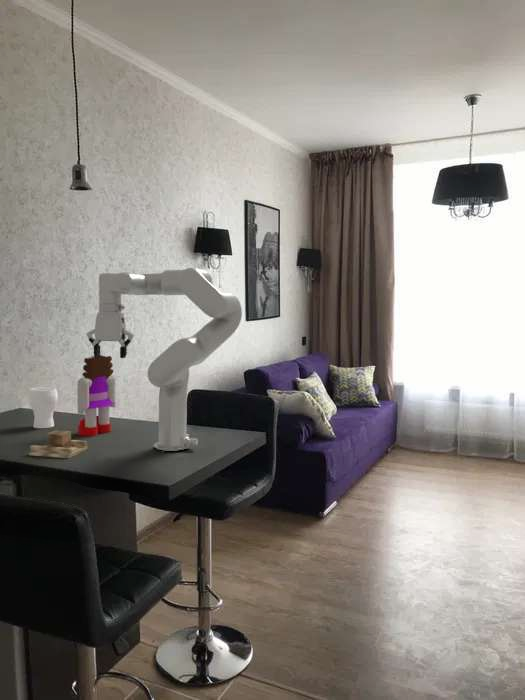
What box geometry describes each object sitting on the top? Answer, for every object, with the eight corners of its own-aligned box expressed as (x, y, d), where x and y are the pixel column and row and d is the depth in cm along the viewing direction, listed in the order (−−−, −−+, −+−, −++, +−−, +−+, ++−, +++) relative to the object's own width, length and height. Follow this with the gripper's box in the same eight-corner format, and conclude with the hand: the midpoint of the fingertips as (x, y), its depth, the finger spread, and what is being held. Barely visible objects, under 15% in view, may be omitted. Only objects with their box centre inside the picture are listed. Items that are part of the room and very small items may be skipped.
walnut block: (71, 447, 189) (71, 431, 189) (62, 451, 184) (62, 434, 184) (56, 446, 190) (55, 430, 190) (46, 450, 185) (46, 433, 185)
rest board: (87, 448, 192) (87, 440, 192) (68, 458, 180) (68, 449, 180) (49, 446, 194) (49, 438, 194) (29, 455, 183) (28, 446, 182)
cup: (28, 424, 227) (28, 387, 226) (56, 422, 231) (56, 386, 230) (30, 430, 217) (29, 391, 216) (59, 428, 222) (58, 390, 221)
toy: (104, 426, 226) (104, 351, 224) (120, 429, 222) (120, 353, 219) (68, 435, 211) (67, 355, 208) (84, 438, 206) (84, 356, 204)
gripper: (137, 309, 200) (137, 357, 202) (92, 308, 203) (92, 355, 205) (128, 309, 193) (128, 359, 194) (81, 308, 196) (82, 357, 198)
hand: (110, 357), depth 200 cm, fingers open, 9 cm apart
